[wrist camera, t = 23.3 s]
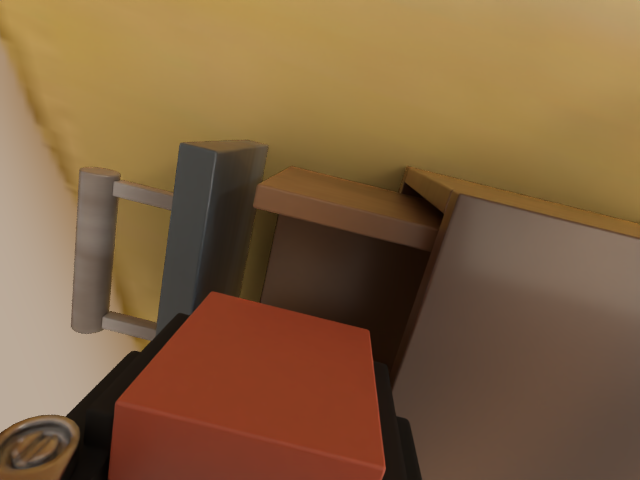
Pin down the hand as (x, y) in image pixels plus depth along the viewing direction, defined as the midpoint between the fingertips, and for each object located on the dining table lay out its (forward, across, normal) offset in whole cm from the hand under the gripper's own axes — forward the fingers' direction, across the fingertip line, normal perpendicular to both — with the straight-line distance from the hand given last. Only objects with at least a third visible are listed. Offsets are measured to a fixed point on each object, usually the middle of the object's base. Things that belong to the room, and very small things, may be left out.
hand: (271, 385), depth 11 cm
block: (0, 0, 0) cm, 0 cm away
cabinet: (+11, -11, 0) cm, 16 cm away
